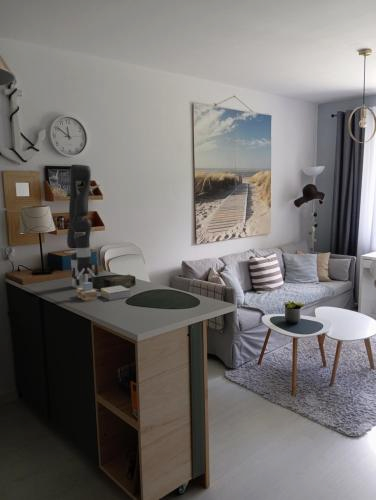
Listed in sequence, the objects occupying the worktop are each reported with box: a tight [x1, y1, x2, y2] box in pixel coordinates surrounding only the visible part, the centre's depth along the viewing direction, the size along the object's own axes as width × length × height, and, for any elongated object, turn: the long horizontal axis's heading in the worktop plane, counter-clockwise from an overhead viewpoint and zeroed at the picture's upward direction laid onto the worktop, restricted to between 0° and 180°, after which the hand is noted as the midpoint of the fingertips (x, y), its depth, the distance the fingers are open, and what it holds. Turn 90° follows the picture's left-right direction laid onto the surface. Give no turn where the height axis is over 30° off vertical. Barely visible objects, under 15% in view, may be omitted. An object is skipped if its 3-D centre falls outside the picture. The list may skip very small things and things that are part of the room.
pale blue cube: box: [83, 281, 94, 291], centre depth 221 cm, size 4×4×4 cm
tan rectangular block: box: [76, 287, 98, 302], centre depth 224 cm, size 14×6×5 cm, turn 35°
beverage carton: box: [102, 273, 137, 288], centre depth 247 cm, size 8×19×7 cm, turn 133°
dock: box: [100, 285, 131, 301], centre depth 225 cm, size 13×12×4 cm
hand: (85, 284), depth 225 cm, fingers open, 8 cm apart
